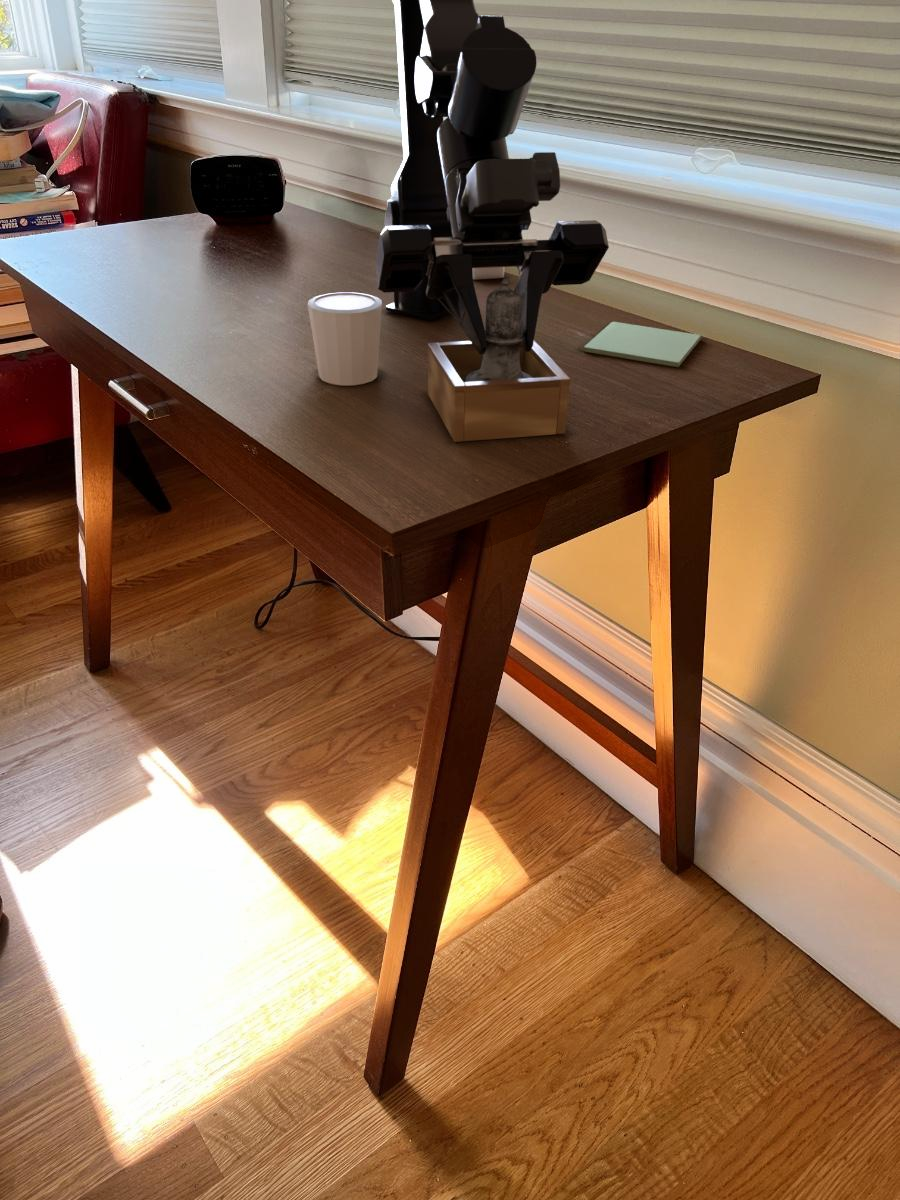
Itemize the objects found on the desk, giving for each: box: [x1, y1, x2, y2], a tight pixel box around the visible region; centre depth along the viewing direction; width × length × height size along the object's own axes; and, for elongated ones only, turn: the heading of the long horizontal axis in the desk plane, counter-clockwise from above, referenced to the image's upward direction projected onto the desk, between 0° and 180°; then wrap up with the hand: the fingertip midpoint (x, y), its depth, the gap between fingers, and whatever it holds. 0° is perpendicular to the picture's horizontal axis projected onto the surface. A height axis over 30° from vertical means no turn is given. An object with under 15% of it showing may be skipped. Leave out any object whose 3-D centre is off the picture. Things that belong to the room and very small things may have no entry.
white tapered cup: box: [307, 291, 383, 386], centre depth 85 cm, size 7×7×7 cm
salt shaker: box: [465, 277, 532, 382], centre depth 75 cm, size 6×6×12 cm
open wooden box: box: [427, 339, 571, 443], centre depth 78 cm, size 11×10×5 cm
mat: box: [582, 321, 702, 368], centre depth 96 cm, size 10×10×1 cm
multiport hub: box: [472, 267, 506, 281], centre depth 121 cm, size 4×11×2 cm, turn 18°
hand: (506, 350), depth 74 cm, fingers closed on salt shaker, 3 cm apart
